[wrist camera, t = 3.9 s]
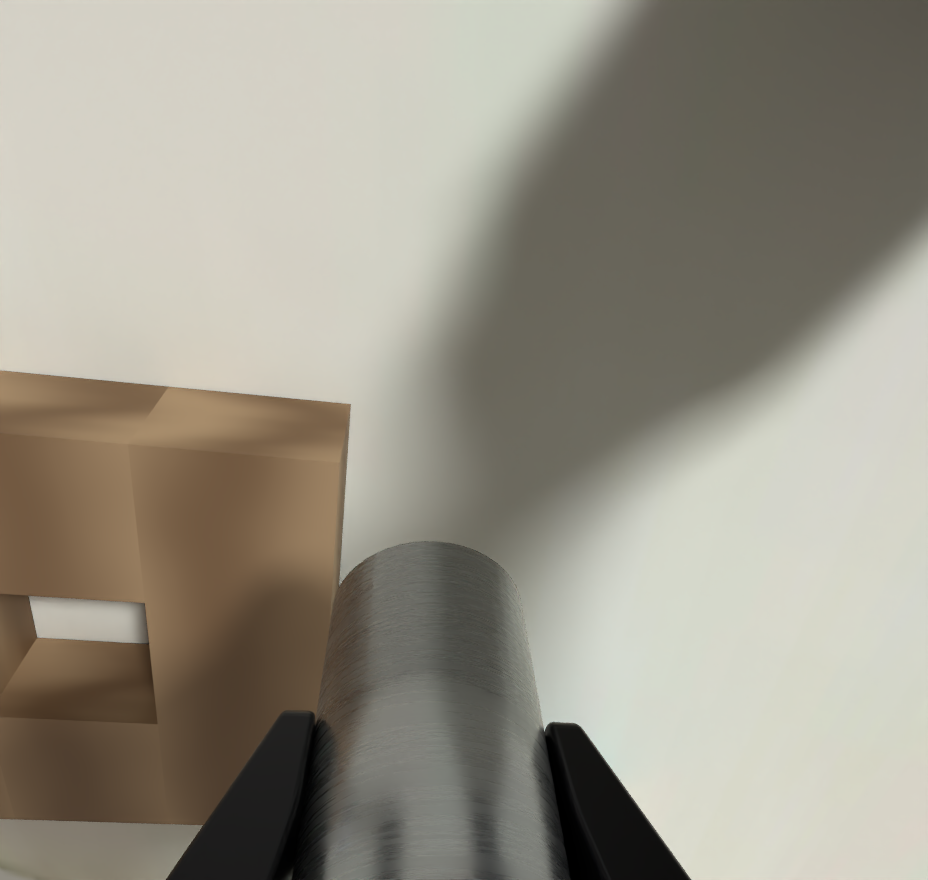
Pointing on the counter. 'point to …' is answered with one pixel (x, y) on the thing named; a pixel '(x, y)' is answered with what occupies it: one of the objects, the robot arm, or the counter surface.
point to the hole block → (160, 588)
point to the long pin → (429, 729)
